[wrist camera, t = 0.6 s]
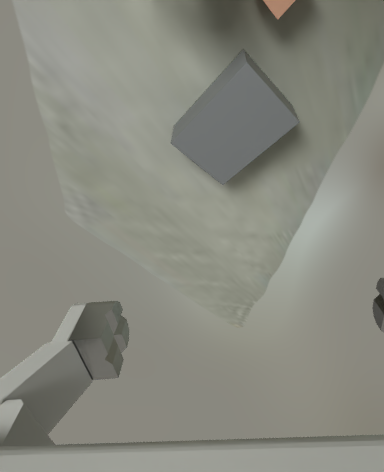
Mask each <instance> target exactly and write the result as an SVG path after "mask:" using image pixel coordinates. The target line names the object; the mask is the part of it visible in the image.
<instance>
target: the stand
mask: <svg viewBox="0 0 384 472" xmlns="http://www.w3.org/2000/svg"><path fill="white" fill-rule="evenodd" d="M299 122H300V121H299V119H298V117H297V115H296V113H295V110H294V108H293V106H292V104H291V103H290V102H289V101H288V100H287V99H286V97H285V96H284V95H283V94H282V93H281V92H280V91H279V89H278V88H277V87H276V86H275V85H274V84H273V83H272V81H271V80H270V79H269V78H268V77H267V76H266V74H265V73H264V72H263V71H262V70H261V69H260V68H259V66H258V65H257V64H256V63H255V62H254V61H253V59H252V58H251V57H250V56H249V55H248V54H247V53H246V51H245V50H244V49H243V50H242V51H241V52H240V53H239V54H238V55H237V56H236V58H235V59H234V60H233V61H232V62H231V63H230V64H229V65H228V66H227V68H226V69H225V70H224V71H223V72H222V73H221V74H220V75H219V76H218V78H217V79H216V80H215V81H214V82H213V83H212V84H211V85H210V86H209V88H208V89H207V90H206V91H205V92H204V93H203V94H202V95H201V96H200V97H199V99H198V100H197V101H196V102H195V103H194V104H193V105H192V106H191V107H190V109H189V110H188V111H187V112H186V113H185V114H184V115H183V116H182V117H181V119H180V120H179V121H178V122H177V123H176V124H175V125H174V128H173V133H172V139H171V144H172V145H173V146H175V147H176V148H177V149H178V150H180V151H181V152H182V153H183V154H185V155H186V156H187V157H188V158H190V159H191V160H192V161H193V162H194V163H196V164H197V165H198V166H199V167H201V168H202V169H203V170H204V171H206V172H207V173H208V174H209V175H211V176H212V177H213V178H214V179H216V180H217V181H218V182H219V183H221V184H222V185H223V184H225V183H226V182H227V181H228V180H230V179H231V178H232V177H233V176H234V175H236V174H237V173H238V172H239V171H241V170H242V169H243V168H244V167H245V166H247V165H248V164H249V163H250V162H252V161H253V160H254V159H255V158H256V157H258V156H259V155H260V154H261V153H263V152H264V151H265V150H266V149H268V148H269V147H270V146H271V145H272V144H274V143H275V142H276V141H277V140H279V139H280V138H281V137H282V136H283V135H285V134H286V133H287V132H288V131H290V130H291V129H292V128H293V127H294V126H296V125H297V124H298V123H299Z"/></svg>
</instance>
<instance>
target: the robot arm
mask: <svg viewBox="0 0 384 472" xmlns="http://www.w3.org/2000/svg"><path fill="white" fill-rule="evenodd" d="M376 289H377V290H378V292H379V293H380V294H379V295H378V296H377V297H376V298H375V299H374V302H373V314H374V318H375V321H376V323H377V325H378V327H379V328H380V330H381V331H383V332H384V278H380V279H379V281H378V283H377V287H376ZM122 310H123V309H122V307H121V304H120V302H118V301H107V302H91V303H80V304H74V305H72V306H71V307H70V309H69V311H68V313H67V315H66V317H65V318H64V320H63V322H62V324H61V326H60V327H59V329H58V331H57V333H56V335H55V336H54V338H53V340H52V342H51V343H46V344H45V345H43V346H42V347H41V348H39V349H38V350H37V351H36V352H34V353H33V354H32V355H30V356H29V357H28V358H26V359H25V360H24V361H22V362H21V363H20V364H19V365H17V366H16V367H15V368H13V369H12V370H11V371H10V372H8V373H7V374H6V375H4V376H3V377H2V378H0V472H384V435H357V436H356V435H355V436H323V437H293V438H291V437H290V438H263V439H262V438H259V439H227V440H196V441H165V442H133V443H132V442H131V443H100V444H68V445H67V444H66V445H55V444H54V442H53V441H52V440H51V439H50V438H49V436H48V434H49V433H50V431H51V430H52V429H53V428H54V427H55V426H56V424H57V423H58V422H59V421H60V420H61V418H62V417H63V416H64V415H65V414H66V413H67V411H68V410H69V409H70V408H71V407H72V405H73V404H74V403H75V402H76V401H77V400H78V398H79V397H80V396H81V395H82V394H83V392H84V391H85V390H86V389H87V388H88V387H89V385H90V384H91V383H92V380H99V379H111V378H118V377H119V374H120V370H121V367H122V363H123V357H122V354H121V353H122V352H123V351H124V350H125V349H126V348H127V345H128V341H129V327H128V323H127V320H126V319H125V318H124V317H123V316H121V313H122Z"/></svg>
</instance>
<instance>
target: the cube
mask: <svg viewBox="0 0 384 472" xmlns="http://www.w3.org/2000/svg"><path fill="white" fill-rule="evenodd" d="M263 1H264V2H265V4H266V5H267V6H268V8H269V9H270V10H271V12H272V13H273V14H274V16H275V17H276V18H277V19H279V18H280V17H281V16H282V14H283V13H284V12H285V11H286V10H287V9H288V8H289V7H290V6H291V5H292V4H293V2H294V1H295V0H263Z"/></svg>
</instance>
